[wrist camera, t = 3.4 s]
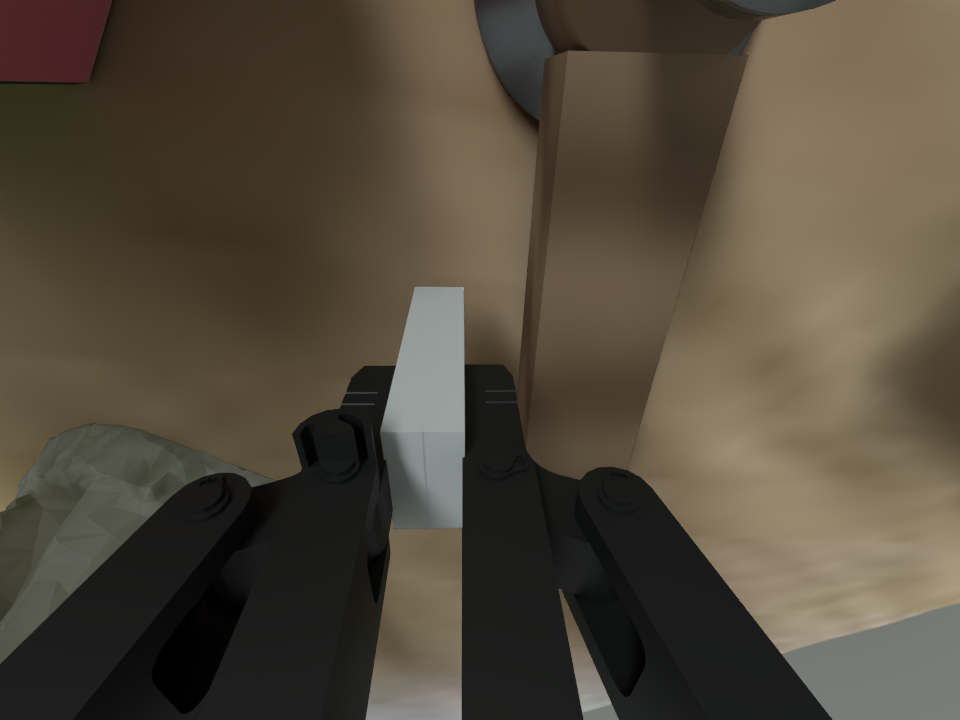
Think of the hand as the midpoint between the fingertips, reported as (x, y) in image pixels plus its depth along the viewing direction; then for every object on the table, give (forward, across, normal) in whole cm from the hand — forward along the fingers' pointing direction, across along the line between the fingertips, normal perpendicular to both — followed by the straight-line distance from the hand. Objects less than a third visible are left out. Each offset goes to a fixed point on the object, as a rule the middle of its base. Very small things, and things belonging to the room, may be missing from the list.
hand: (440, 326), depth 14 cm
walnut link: (+2, +5, -1) cm, 6 cm away
